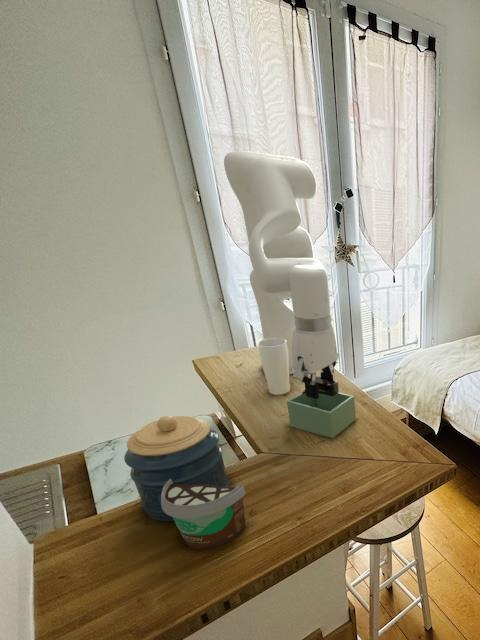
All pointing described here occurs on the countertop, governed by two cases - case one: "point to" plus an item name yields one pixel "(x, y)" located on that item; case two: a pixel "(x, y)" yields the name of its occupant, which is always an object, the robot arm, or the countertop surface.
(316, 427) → the bin
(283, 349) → the drinking glass
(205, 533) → the food container
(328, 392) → the wireless earbuds
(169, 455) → the canister
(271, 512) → the countertop surface
